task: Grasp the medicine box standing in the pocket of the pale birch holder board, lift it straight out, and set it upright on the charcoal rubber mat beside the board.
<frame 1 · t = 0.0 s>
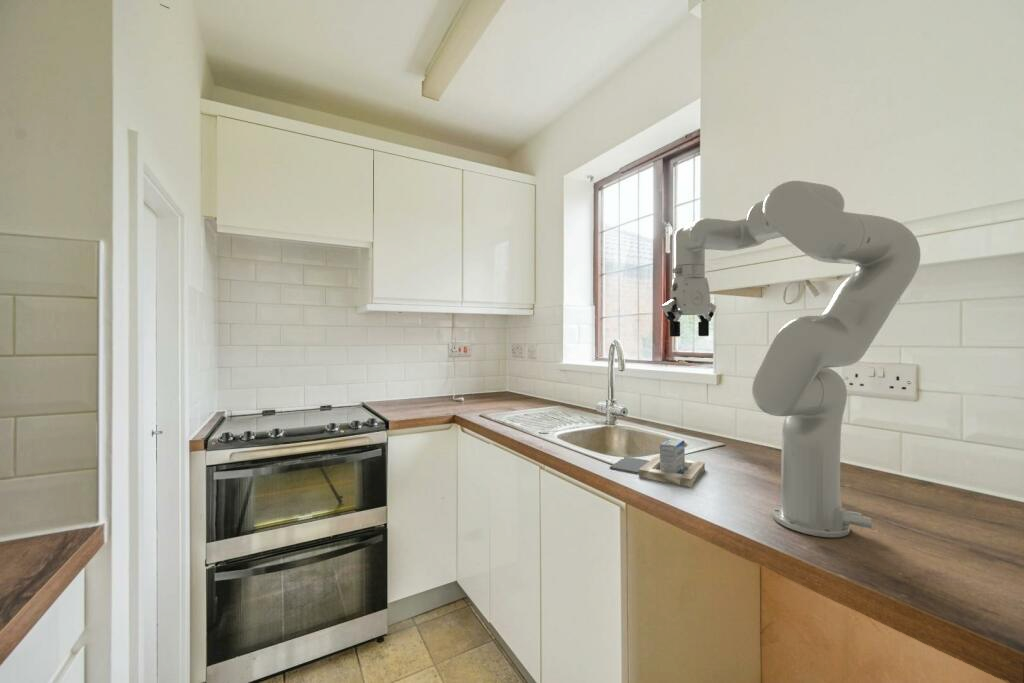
hand: (689, 336, 113), 37 cm above the table, tool pointing down, fingers open, 9 cm apart
medicine box: (672, 474, 113), resting in pocket board
pocket board: (672, 473, 113), on the table
rubber mat: (631, 465, 120), on the table
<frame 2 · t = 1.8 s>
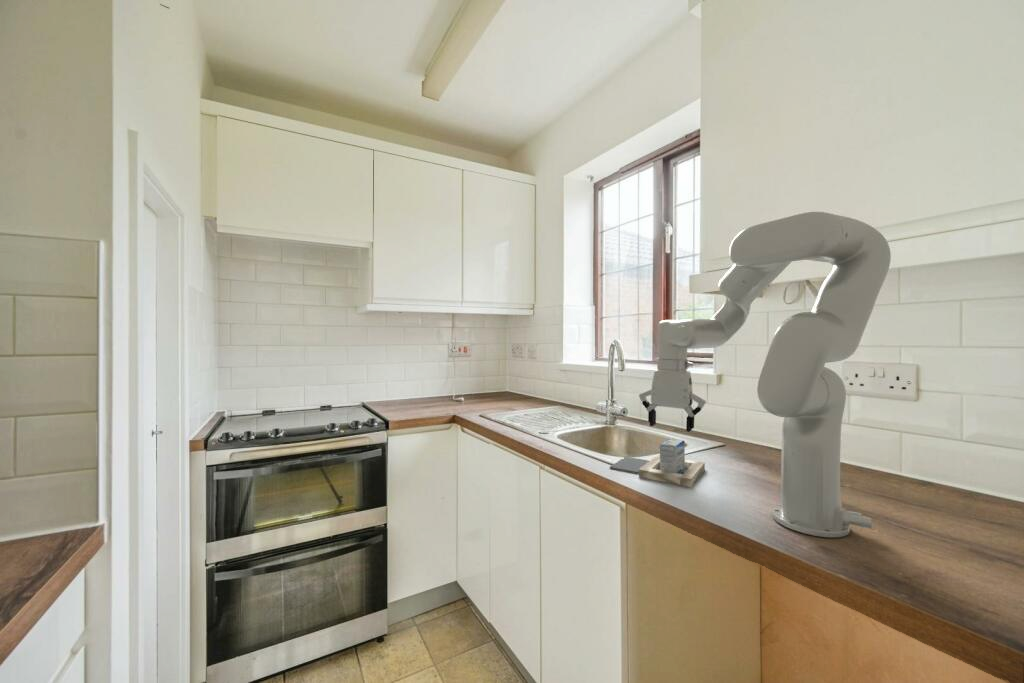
hand: (670, 427, 114), 12 cm above the table, tool pointing down, fingers open, 9 cm apart
nothing on the table moved.
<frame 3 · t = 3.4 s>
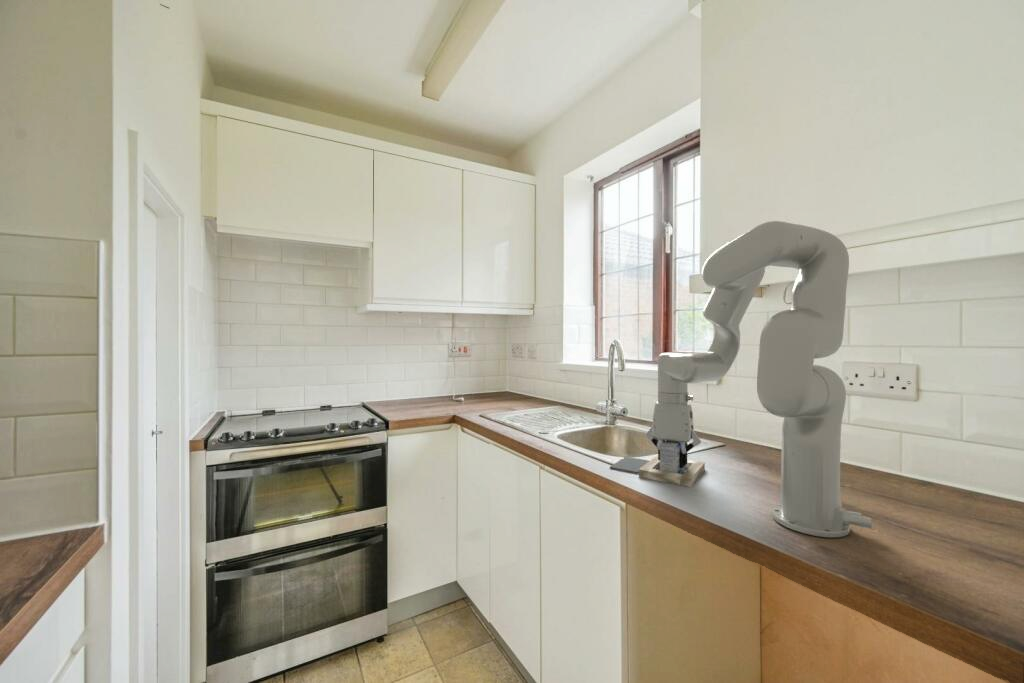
hand: (672, 464, 113), 2 cm above the table, tool pointing down, fingers closed on medicine box, 4 cm apart
medicine box: (672, 474, 113), resting in pocket board, touching gripper
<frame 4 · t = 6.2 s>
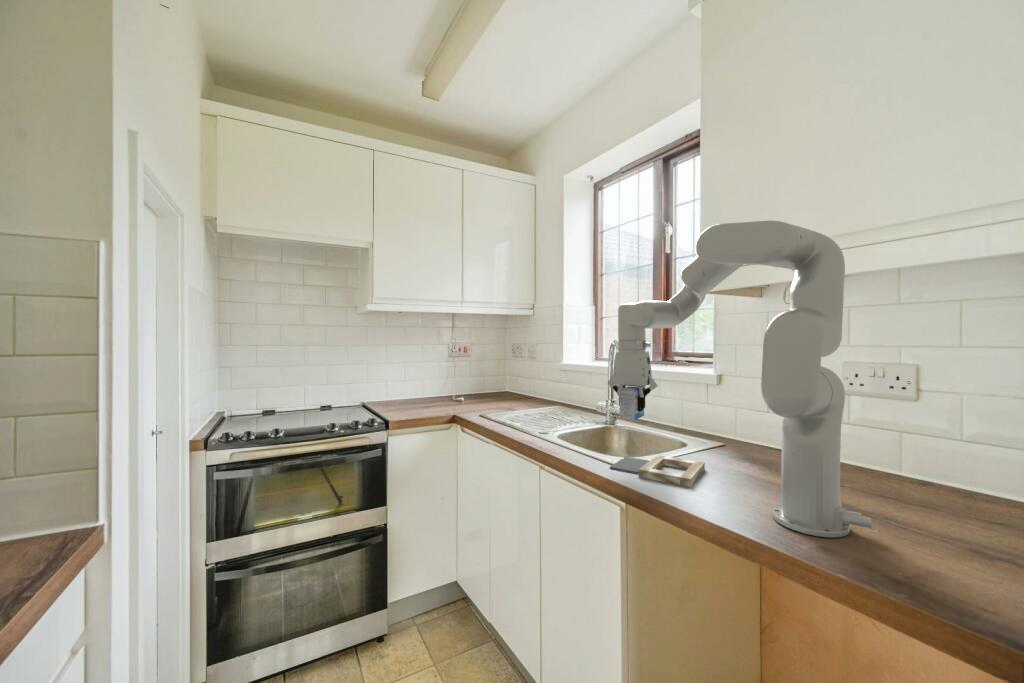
hand: (631, 409, 120), 16 cm above the table, tool pointing down, fingers closed on medicine box, 4 cm apart
medicine box: (631, 418, 120), point 14 cm above the table, touching gripper
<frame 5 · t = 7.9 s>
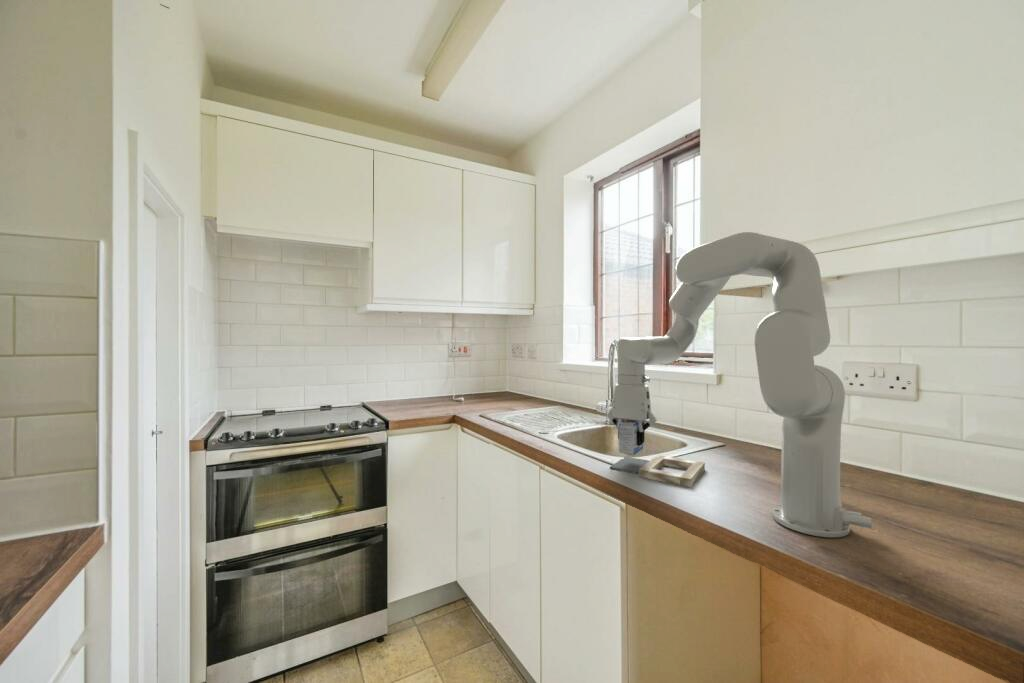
hand: (631, 442, 120), 7 cm above the table, tool pointing down, fingers closed on medicine box, 4 cm apart
medicine box: (631, 451, 120), point 4 cm above the table, touching gripper
when the fingers open (4 cm above the table, at t = 9.3 s): medicine box stays where it is, resting on rubber mat.
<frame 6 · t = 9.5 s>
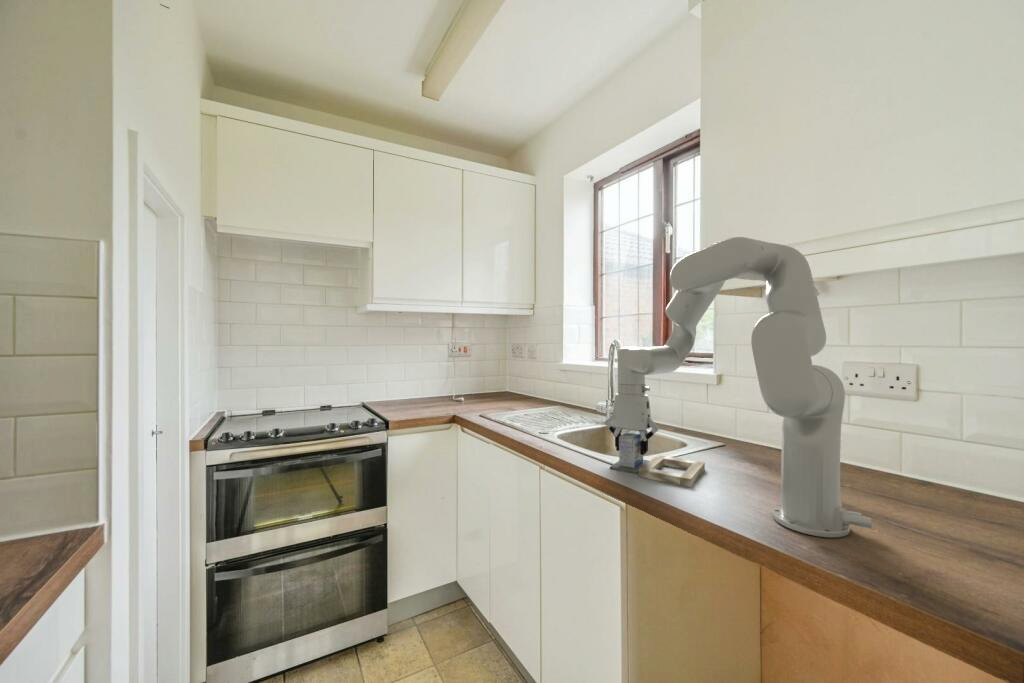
hand: (631, 451, 120), 4 cm above the table, tool pointing down, fingers open, 6 cm apart
medicine box: (631, 464, 120), resting on rubber mat
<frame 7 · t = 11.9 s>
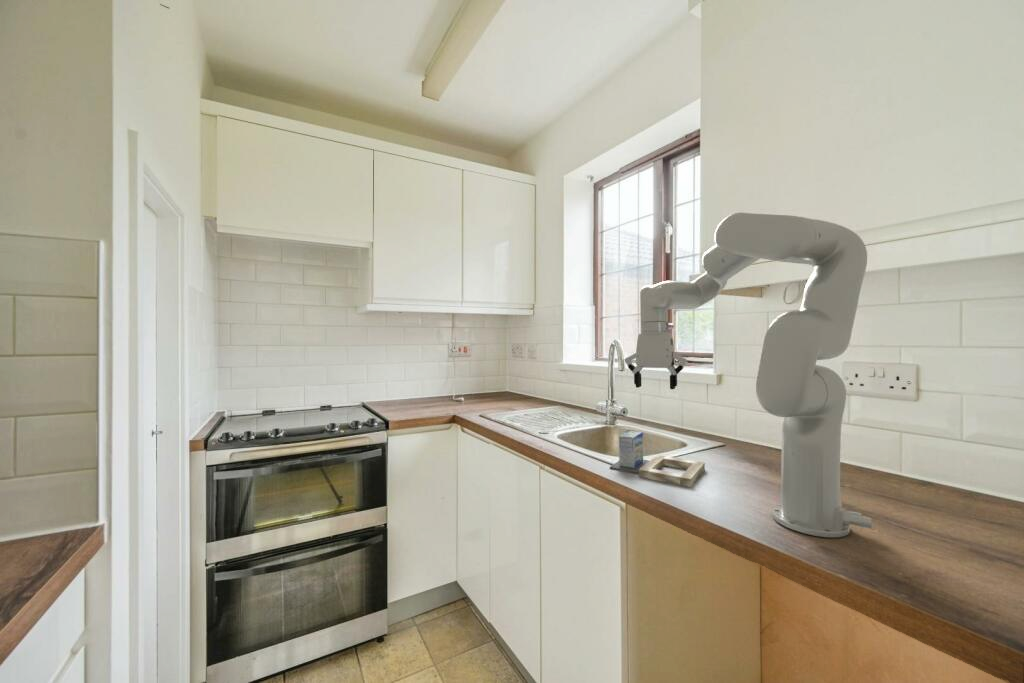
hand: (655, 387, 120), 22 cm above the table, tool pointing down, fingers open, 9 cm apart
nothing on the table moved.
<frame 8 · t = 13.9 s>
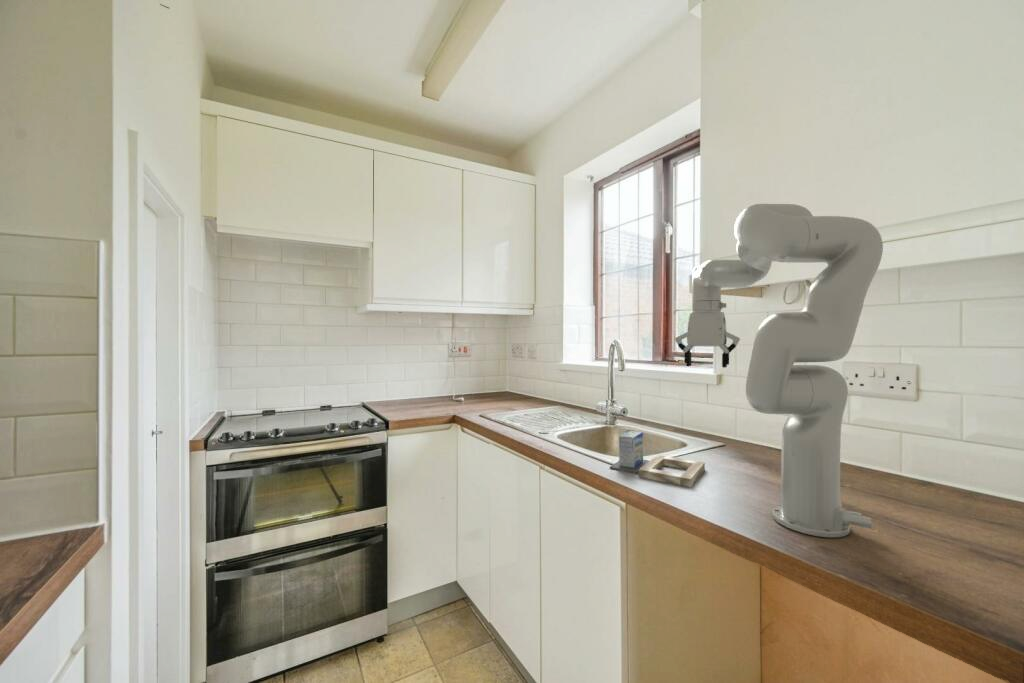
hand: (706, 366, 122), 28 cm above the table, tool pointing down, fingers open, 9 cm apart
nothing on the table moved.
at the end: medicine box inside the target area (0.0 cm from its centre), resting on rubber mat; medicine box tilted 0°; the gripper is holding nothing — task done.
